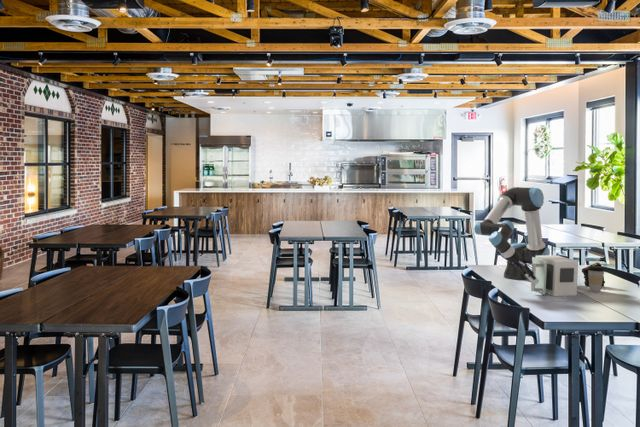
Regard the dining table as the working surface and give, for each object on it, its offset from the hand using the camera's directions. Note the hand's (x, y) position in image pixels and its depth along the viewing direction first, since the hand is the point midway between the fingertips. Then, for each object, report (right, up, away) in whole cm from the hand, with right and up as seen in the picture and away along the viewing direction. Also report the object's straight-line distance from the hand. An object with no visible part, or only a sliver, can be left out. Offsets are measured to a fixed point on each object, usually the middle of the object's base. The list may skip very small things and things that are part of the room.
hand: (535, 281), depth 324 cm
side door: (+1, -6, +7) cm, 9 cm away
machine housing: (+15, -7, +8) cm, 18 cm away
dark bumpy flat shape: (+45, -6, +24) cm, 52 cm away
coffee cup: (+39, -7, +9) cm, 41 cm away
